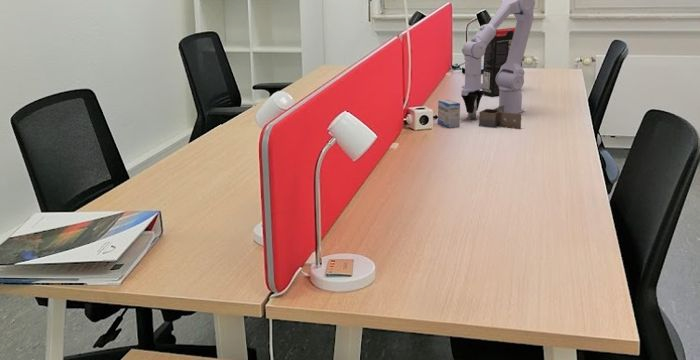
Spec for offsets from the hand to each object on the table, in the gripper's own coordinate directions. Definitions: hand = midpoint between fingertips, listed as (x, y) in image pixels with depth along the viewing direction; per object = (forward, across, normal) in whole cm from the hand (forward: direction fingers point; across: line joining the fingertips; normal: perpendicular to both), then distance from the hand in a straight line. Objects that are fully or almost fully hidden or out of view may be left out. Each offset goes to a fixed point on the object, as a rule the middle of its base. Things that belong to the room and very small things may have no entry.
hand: (472, 111), depth 280 cm
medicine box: (+3, +13, -3) cm, 14 cm away
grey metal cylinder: (+2, 0, 0) cm, 2 cm away
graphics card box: (+3, -49, -9) cm, 50 cm away
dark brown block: (+3, +2, +10) cm, 11 cm away
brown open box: (+3, +6, +14) cm, 15 cm away
